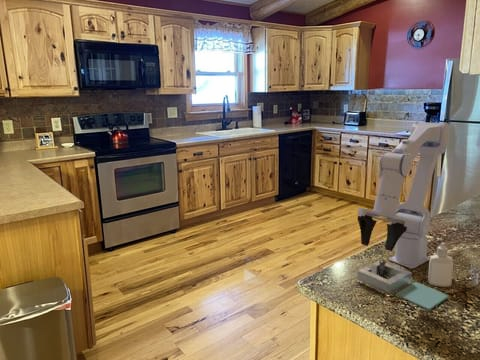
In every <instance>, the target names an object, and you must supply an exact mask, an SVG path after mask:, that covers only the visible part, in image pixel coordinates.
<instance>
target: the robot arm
mask: <svg viewBox="0 0 480 360" xmlns="http://www.w3.org/2000/svg"><path fill="white" fill-rule="evenodd" d="M450 127H451V126H450V124H448V122H424V121H423V122H421V121H420V122H419V121H415V122H414V123H413V124H412V125H411V128H410V136H409V137H408V139H402V140H401V141H400V142H399V143H398V144H397V146H396V147H394V148H393V150H392V151H391V152H386V153H385V154H382V155H381V157H380V159H379V162H378V167H379V169H378V179H379V181H378V185H377V186H378V187H377V191H376V195H375V199H374V200H375V201H374V205H373V209H372V210H371V209H368V208H367V209H366V208H362V207H358V210H357V221H358V225H359V228H360V243H361V245H363V246H366V247H368V246H369V244H370V241H371V237H372V233H373V230H374V229H375V226H376V224H377V222H378V221H383V222H387V224H386V228H387V229H386V231H387V232H386V241H385V244H384V245H385V246H384V249H385V251H386V250H387V251H389V252H393V250H394V249H395V252H394V253H395V254H394V255H393V256H392V257H389V259H388V260H389V261H390V262H393V263H395V264H398V265H401V266H403V267H407V268H409V269H411V270H412V269H416V268H417V267H419V266H421V265H423V264H425V263H426V262H427V261H430V257H427V254H428V253H427V252H428V238H427V235H428V233H429V230H430V226H431V218H432V216H431V212H430V210H429V209H428V208H426V206H424V205H425V202H426V198H427V195H428V191H429V189H430V184H431V181H432V177H433V174H434V172H435V171H434V170H435V167H436V163H437V161H438V159H439V156H440V155H442V154H444V153H445V152H446V149H447V147H448V145H449V141H450V135H451V128H450ZM418 155H419V159H418V161H417V165H416V167H415V172H414V175H413V179H412V182H411V185H410V189H409V193H408V195H407V198H406V201H404V202H402V203H399V202H400V201H399V200H400V197H401V192H402V188H403V183H404V178H405V177H406V176H408V175H409V172H410V170H411V167H412V165H413V161H414V160H415V159H416V157H417V156H418ZM380 217H382V218H380ZM385 218H386V219H385ZM377 220H378V221H377Z"/></svg>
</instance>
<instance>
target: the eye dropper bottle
mask: <svg viewBox="0 0 480 360" xmlns="http://www.w3.org/2000/svg"><path fill="white" fill-rule="evenodd" d="M428 261H429V262H428V263H429V264H428V272H427V274H428V275H427V282H428V284H429V285H431V286H435V287H442V288H443V287H444V288H445V287H446V288H447V287H451V286H452V281H453V273H454V272H453V270H454V259H453V258H452V257H451V256H449V255H448V247H446V244H445V242H441V243H440V246H437V251H436V254H433V255H431V256H430V257H429V260H428Z"/></svg>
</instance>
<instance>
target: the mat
mask: <svg viewBox="0 0 480 360" xmlns="http://www.w3.org/2000/svg"><path fill="white" fill-rule="evenodd" d="M394 294H395V296H396V295H397V296H396V297H398V296H399V297H398V298H400V297H401V299H402V298H403V300H404V299H406V300H408V301H407V302H409V301H410V302H409V303H411V304H413V305H416V306H417V307H420V308H423V309H424V310H426V311H429V312H430V311H431V310H432V309H434V308H435V307H437V306H438V305H439V304H441V303H442V302H444V301H445V300H447V299H449V298H450V295H449V294H447V293H445V292H442V291H439V290H437V289H434V288H432V287H429V286H427V285H424V284H423V283H420V282H417V281H415V282H412V283H411V284H410V285H408V286H406V287H405V288H403V289H401V290H399V291H398V292H396V293H394ZM406 300H405V301H406Z"/></svg>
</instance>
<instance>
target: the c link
mask: <svg viewBox="0 0 480 360" xmlns="http://www.w3.org/2000/svg"><path fill="white" fill-rule="evenodd" d="M380 260H381V259H378V260H376V261H375V262H372V263H371V265H370V267H369V266H365V267H362V268H359V269H357V280H359V281H362V282H364V283H366V284H368V285H370V286H372V287H374V288H376V289H378V290H380V291H382V292H384V293H385V294H387V295H391V294H393V293H394V294H396V293H397V292H396V291H398V290H399V291H401V290H403V289H404V288H403V287H405V286H406V287H408V286H409V284H410V285H411V284H412V283H411V282H412V272H411V271H409V270H406V269H404V268H400V267H399V266H396V265H393V264H391V263H388V262H386V264H385V276H387V277H389V278H390V279H389V278H386V277H384V278H383V277H381V276H378V274H379V269H380V263H379V261H380ZM407 285H408V286H407ZM406 287H405V288H406ZM402 288H403V289H402ZM400 289H401V290H400ZM399 291H398V292H399ZM395 292H396V293H395ZM385 294H384V295H385ZM394 294H393V295H394ZM387 295H386V296H387ZM391 296H392V295H391Z"/></svg>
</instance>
